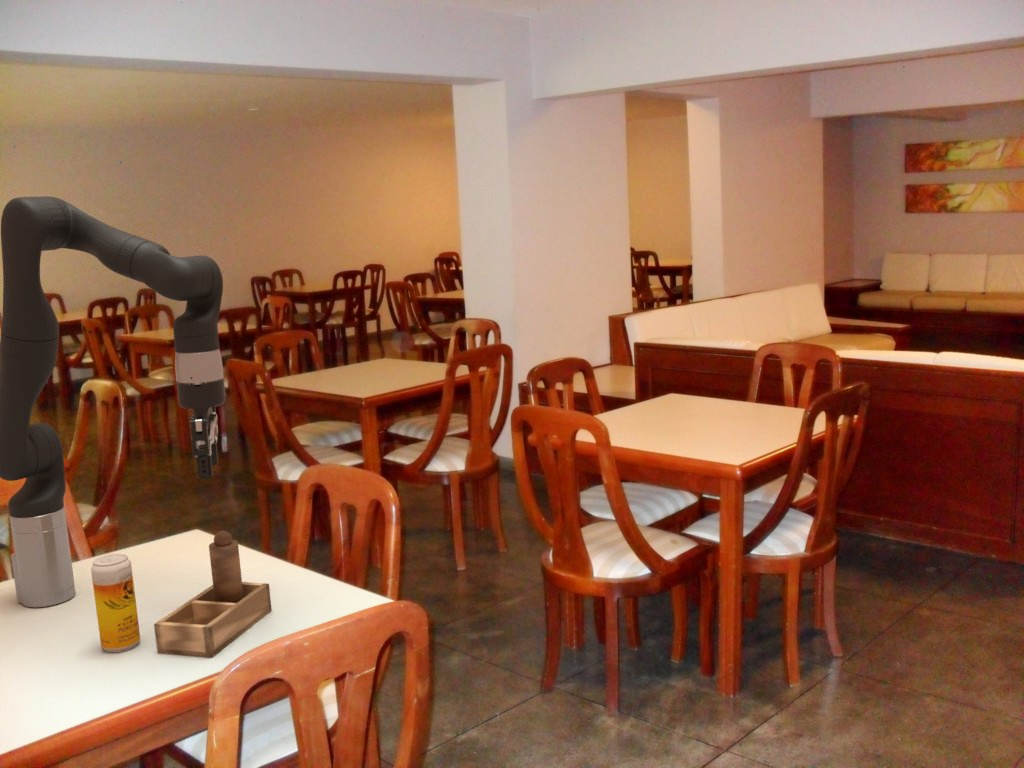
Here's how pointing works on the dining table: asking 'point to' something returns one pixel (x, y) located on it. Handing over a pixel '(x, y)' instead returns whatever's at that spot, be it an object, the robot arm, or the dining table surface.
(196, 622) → the caddy
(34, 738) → the dining table surface
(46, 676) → the dining table surface
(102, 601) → the beer can
